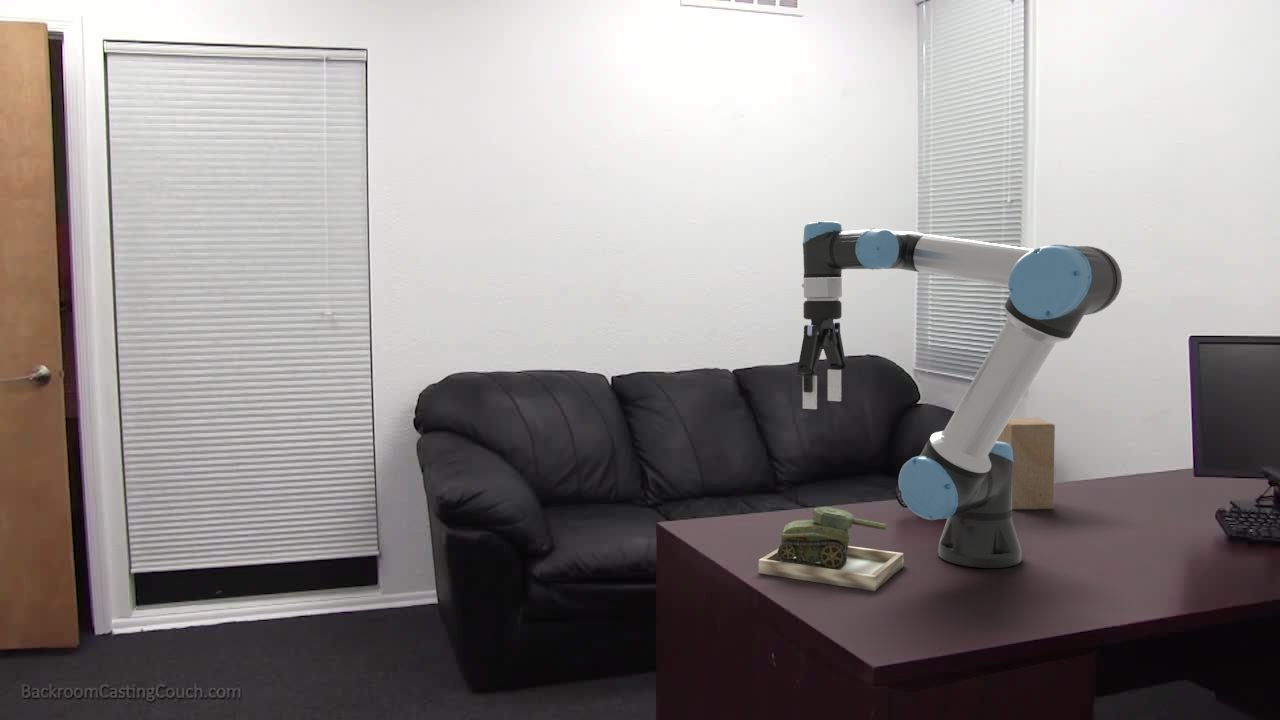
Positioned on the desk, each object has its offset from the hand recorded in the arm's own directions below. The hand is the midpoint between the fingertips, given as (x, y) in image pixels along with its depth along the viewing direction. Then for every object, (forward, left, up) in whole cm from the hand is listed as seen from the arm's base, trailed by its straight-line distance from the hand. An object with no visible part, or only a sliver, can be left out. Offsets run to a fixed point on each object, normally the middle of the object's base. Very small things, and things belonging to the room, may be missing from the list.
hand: (822, 404), depth 200 cm
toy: (-7, +16, -28) cm, 33 cm away
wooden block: (-29, -55, -29) cm, 69 cm away
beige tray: (-8, +16, -29) cm, 34 cm away
